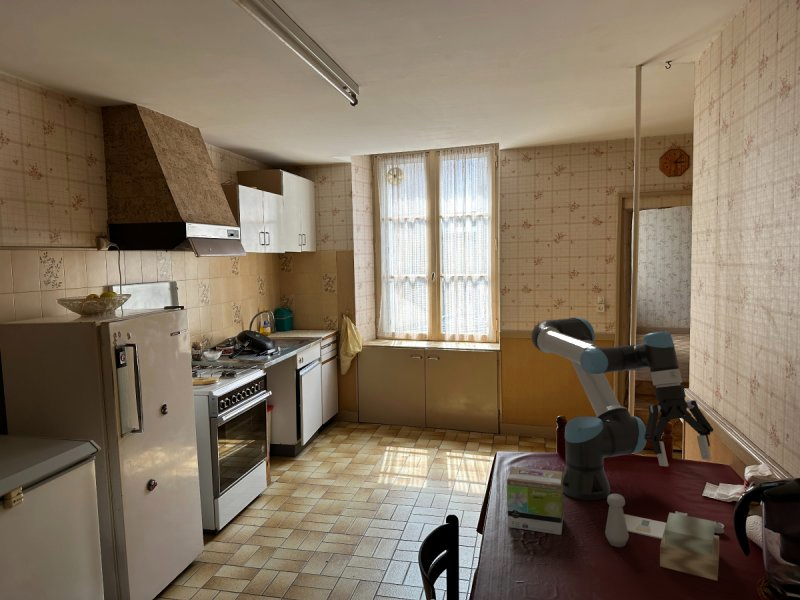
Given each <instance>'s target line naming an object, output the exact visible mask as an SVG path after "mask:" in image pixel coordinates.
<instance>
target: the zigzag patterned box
mask: <svg viewBox="0 0 800 600" xmlns="http://www.w3.org/2000/svg"><path fill="white" fill-rule="evenodd" d="M668 513H669V514H668V516H667V521H666V522H665V523H666V525H665V529H664V533H663V537H662V539H660V540H661V541H660V545H659V567H662V568H666V569H670V570H674V571H677V572H681V573H685V574H690V575H694V576H697V577H701V578H705V579H709V580H712V581H713V580H714V581H718V577H719V566H720V565H719V563H720V536H719V535H715V532H714V522H715V521H713V520H708V519H705V518H704V519H703V518H699V517H695V516H688V515H687V516H684V515H679V514H675V512H674V513H673V512H668Z"/></svg>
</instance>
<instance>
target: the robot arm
mask: <svg viewBox="0 0 800 600" xmlns="http://www.w3.org/2000/svg"><path fill="white" fill-rule="evenodd" d="M530 337H531V342H532V345H533V346H534V347H535V348H536V349H537V350H538V351H540V352H542V353H545V354H556V355H557V356H560V357H562V358H564V359H567V360H569V361H570V362H571V365H572V367H573V369H574V371H575V373H576V375H577V377H578V379H579V382H580V384H581V386H582V387H583V390H584V392H585V394H586V396H587V398H588V400H589V403H590V404H591V408H592V409H593V410H594V411H593V412H594V413H595V415H596V416H591V415H590V416H585V415H584V416H578V417H574V418H572V419H570V420H569V421H567V423H566V424H565V428H564V429H565V430H564V440H565V442H564V444H565V468H564V471H563V494H565V495H566V496H568V497H570V498H573V499H576V500H581V501H600V500H601V501H602V500H604V499H606V498H607V497H608V496H609V495H610V494H611V486H610V483H609V479H608V477H607V474H606V471H605V469H604V468H605V467H604V466H605V465H604V460H605V458H612V457H619V456H626V455H632V454H637V453H641V452H642V451H643V449H644V448H645V447H646V444H647V441H649V442H651V443H652V447H653V452H654V454H655V455H656V454H657V455H656V456H657V461H658V465H659V466H660V467H669V462H668V458H667V454H666V449H665V448H666V447H665V443H664V441H661V440H662V438H663V436H664V432H665V430H666V428H667V427H668V424H669V422H671V420H676V419H682V420H683V421H685V423H687V424H688V425H689V426H690V427H691V428H693V430H694V431H695V432H696V433H697V434H698V435H696V439H697V443H698V448H699V451H700V456H701V459H702V460H707V461H711V460H712V456H711V452H710V447H711V443H710V440H709V436H710V435H711V432H714V428H713V427H712V425H711V424H710V422H709V421H708V419H707V417H706V416H705V415H704V414H703V412H702V411H701V410H700V408H699V406H698V403H697V401H696V400H695V399H692V400H686V392H685V387H684V385H683V384H681V383H683V379H682V374H681V370H680V366H679V362H678V358H677V353H676V349H675V343H674V341H673V336H672V334H671V333H670V332H669V331H666V330H665V331H655V332H650V333H647V334H644V335H643V342H641V343H637V344H636V343H635V344H629V345H621V346H620V345H619V346H610V347H609V346H608V347H603V346H599V345H596V344H594V343H595V339H596V335H595V330H594V327H593V325H592V324H591V323H590V322H589V320H587V319H585V318H583V317H569V318H560V319H558V318H557V319H547V320H543V321H541V322H538V323H537V324H536V325H535V326H534V327H533V329H532V331H531V335H530ZM646 368H647V369H648V368H649V370H650V376H651V380H652V385H653V386H654V387H655V388H654V393H655V398H656V400H657V402H658V404H649V406H648V417H647V423H646V426H645V423H644V421H643V420H642V418H640V417H638V416H635V415H631V413H630V411H629V410H628V408H627V407H625V406H622V405H621V404H620V402H619V399H618V398H617V396H616V394H615V392H614V390H613V388H612V386H611V385H610V382H609V381H608V378H607V377H606V375H605V374H607V373H614V372H624V371H625V372H626V371H639V370H643V369H646ZM687 409H688V410H687ZM689 411H690V412H689ZM659 414H660V416H659Z"/></svg>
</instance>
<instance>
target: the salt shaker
mask: <svg viewBox="0 0 800 600" xmlns="http://www.w3.org/2000/svg"><path fill="white" fill-rule="evenodd" d="M606 501H607V504H608V505H609V507H608V513H607V518H606V519H607V520H606V524H605V531H604V533H605V537H606V538H607V541H608V543H609V544H610V546H612V547H616V548H623V547H625V546H626V544H627V542H628V540H629V538H630V537H629V536H630V535H629V532H628V530H627V526H626V521H625V517H624V514H625V513H624V506H625V505H626V501H625V497H624V496H623V495H621V494H619V493H610V495H609V496H608V497H607V499H606Z"/></svg>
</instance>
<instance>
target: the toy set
mask: <svg viewBox="0 0 800 600" xmlns="http://www.w3.org/2000/svg"><path fill="white" fill-rule="evenodd" d="M674 514H679V515H684V516H688V515H689V514H688V513H687V512H686V513H684V512H680V511H677V510H676V511H675V512H674ZM718 521H719V520H715V521H714V534H715V533H716V534H723V533H725V530H724V528H725V525H724V524H723V523H721V522H718Z"/></svg>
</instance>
